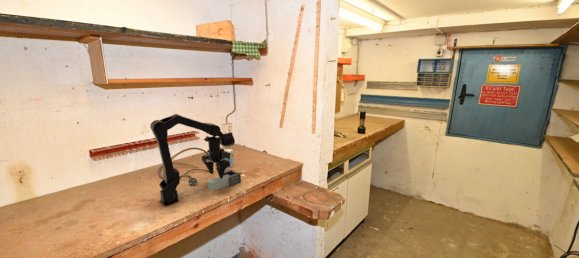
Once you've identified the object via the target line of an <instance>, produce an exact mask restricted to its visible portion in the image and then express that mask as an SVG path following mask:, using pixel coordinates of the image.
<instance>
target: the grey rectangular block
mask: <svg viewBox="0 0 579 258" xmlns="http://www.w3.org/2000/svg"><path fill="white" fill-rule="evenodd" d="M229 176H230V175H228V174H227V175H224V176H223V178H222V179H220V177H219V176H218V177H214V178H211V179H208V180H207V189H208V190H209V192H210V191H211V192H214V191H217V190H219V189H223V188H227V187H228V186H229ZM229 187H230V186H229Z"/></svg>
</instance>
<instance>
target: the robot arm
mask: <svg viewBox="0 0 579 258" xmlns="http://www.w3.org/2000/svg"><path fill="white" fill-rule="evenodd" d="M178 124H179V125H183V126H185V127H189V128H193V129H196V130H199V131H201V132H202V131H203V132H204V133H205V134H207V135H206V136H205V138H204V139H203V140H204V142H206V143H207V142H208V149H207V151H206V152H207V154H203V155H202V156H201V161H202V163H203V164H204V166H205V167H206V168H207V169H208V172H209V173H210V175H213V174H214V165H215V169H216V172H217V174H218V177H220V179H222V178H223V175H224V172H226V170H225V169H226V168H228V167H229V166H230V162H229V161H227V160H222V161H220V160H221V159H224V158H228V159H230V155H231V153H229V152H226V151H224V149H225V148H221V146H222V147H229V146H234V145H235V143H236V142H235V137H234V135H233V132H231V131H230V132H226V133H223V132H222V131H221V127H220V126H218V125H217V124H215V123H209V122H201V121H198V120H196V119H192V118H188V117H185V116H182V115H181V114H178V113H175V114H172V115H170V116H168V117H163V118H162V119H155V120H153V121H152V122H151V123H150V126H149V127H150V130H151V132H152V134H153V135H154V138H155V140H156V142H157V145H158V146H157V147H158V150H159V154H160V159H161V162H162V166H163V173H162V175H163V176H162V177H163V179H162V181H161V182H160V183H159V184H158V186H159V187H160V189H161V190H160V191H159V193H160V194H159V195H160V201H159V203H161V204H162V205H164V206H165V207H168V206H170V205H173V204H175V203H177V202H179V193H178V190H177V187H178V186H179V185H180V182H181V181H180V180H181V177H180V171H179V170H178V169H177V168H176V167H174V164H173V160H172V156H171V152H170V147H169V144H168V134H169V133H168V132H169V130H171V129H172V128H174V127H175V126H177V125H178ZM209 135H210V136H209Z"/></svg>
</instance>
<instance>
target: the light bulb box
mask: <svg viewBox="0 0 579 258" xmlns="http://www.w3.org/2000/svg"><path fill="white" fill-rule="evenodd" d="M223 149H224V151H226V152H229V153H231V155H230V159H228V158H224V159H221V160H220V161H222V160H227V161H229V162H230V166H229V167H228V168H226V169H225V171H229V170H231V168H232V167H233V166H234V165H235V161H234V159H235V157H234V149H231V148H229V149H228V148H223Z"/></svg>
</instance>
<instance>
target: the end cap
mask: <svg viewBox="0 0 579 258" xmlns="http://www.w3.org/2000/svg"><path fill="white" fill-rule="evenodd" d="M227 174H228V175H230V176H229V187H233V186H236V185H238V184H241V183H242V181H241V180H242V179H241V173H240V172H237V171H235V170H233V169H228V170H225V172H224V175H227ZM224 175H223V176H224Z"/></svg>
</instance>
